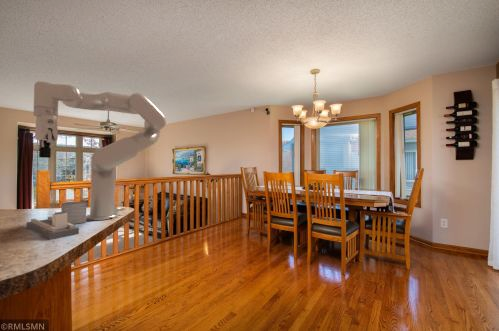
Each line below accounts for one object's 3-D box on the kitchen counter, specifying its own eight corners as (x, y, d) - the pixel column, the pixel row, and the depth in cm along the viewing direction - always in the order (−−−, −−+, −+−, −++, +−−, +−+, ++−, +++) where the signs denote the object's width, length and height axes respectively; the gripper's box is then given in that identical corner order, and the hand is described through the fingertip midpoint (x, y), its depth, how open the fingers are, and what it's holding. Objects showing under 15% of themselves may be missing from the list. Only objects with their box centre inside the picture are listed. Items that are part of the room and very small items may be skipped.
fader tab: (63, 226, 82) (63, 210, 82) (67, 227, 80) (67, 211, 80) (52, 228, 79) (52, 212, 79) (55, 229, 77) (56, 213, 78)
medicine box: (84, 220, 99) (84, 201, 99) (86, 222, 96) (86, 202, 96) (60, 223, 93) (61, 202, 93) (61, 226, 90) (62, 204, 90)
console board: (52, 223, 93) (53, 215, 93) (78, 233, 81) (79, 224, 81) (26, 227, 87) (26, 218, 87) (50, 239, 74) (50, 229, 74)
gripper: (64, 113, 93) (63, 157, 93) (50, 116, 101) (49, 157, 101) (40, 109, 87) (39, 157, 87) (27, 113, 95) (26, 157, 95)
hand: (44, 157), depth 94 cm, fingers closed
